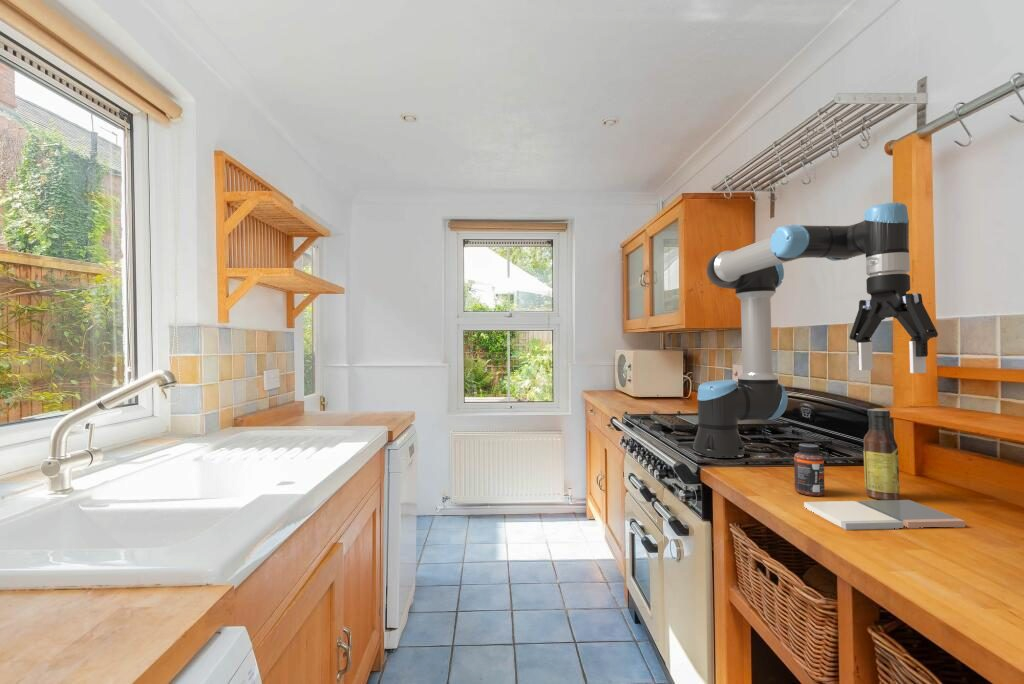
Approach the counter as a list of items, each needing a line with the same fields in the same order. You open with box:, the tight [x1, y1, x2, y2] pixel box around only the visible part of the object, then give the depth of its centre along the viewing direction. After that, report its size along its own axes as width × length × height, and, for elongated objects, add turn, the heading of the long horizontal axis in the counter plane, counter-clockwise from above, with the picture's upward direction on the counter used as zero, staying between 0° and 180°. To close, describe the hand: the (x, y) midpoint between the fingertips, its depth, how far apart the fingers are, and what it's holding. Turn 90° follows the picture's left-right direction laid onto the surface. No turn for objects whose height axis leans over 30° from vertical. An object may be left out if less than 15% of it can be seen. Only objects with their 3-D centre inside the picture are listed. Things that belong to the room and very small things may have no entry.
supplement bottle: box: [793, 443, 826, 497], centre depth 110 cm, size 6×6×11 cm
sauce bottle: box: [862, 408, 901, 500], centre depth 107 cm, size 6×6×20 cm
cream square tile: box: [803, 500, 904, 531], centre depth 95 cm, size 12×11×1 cm
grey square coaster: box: [858, 499, 966, 529], centre depth 95 cm, size 12×11×1 cm
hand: (890, 371), depth 103 cm, fingers open, 13 cm apart
